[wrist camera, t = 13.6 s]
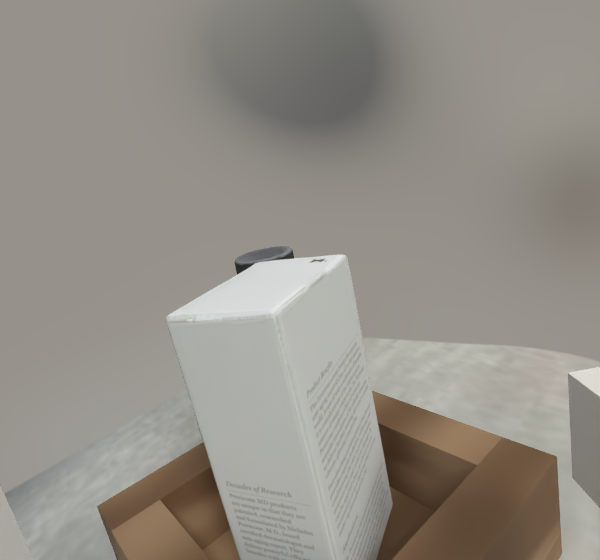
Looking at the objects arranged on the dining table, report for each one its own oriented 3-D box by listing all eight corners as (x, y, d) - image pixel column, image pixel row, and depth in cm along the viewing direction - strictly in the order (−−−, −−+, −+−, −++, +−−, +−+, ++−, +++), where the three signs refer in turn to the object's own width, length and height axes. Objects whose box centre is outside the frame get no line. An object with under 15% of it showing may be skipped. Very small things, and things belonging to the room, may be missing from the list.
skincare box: (310, 492, 22) (256, 260, 18) (395, 506, 20) (351, 250, 17) (247, 610, 16) (158, 314, 13) (354, 646, 14) (279, 310, 11)
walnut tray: (128, 588, 19) (97, 506, 18) (332, 436, 27) (319, 372, 26) (326, 959, 9) (284, 830, 8) (561, 553, 17) (556, 456, 16)
